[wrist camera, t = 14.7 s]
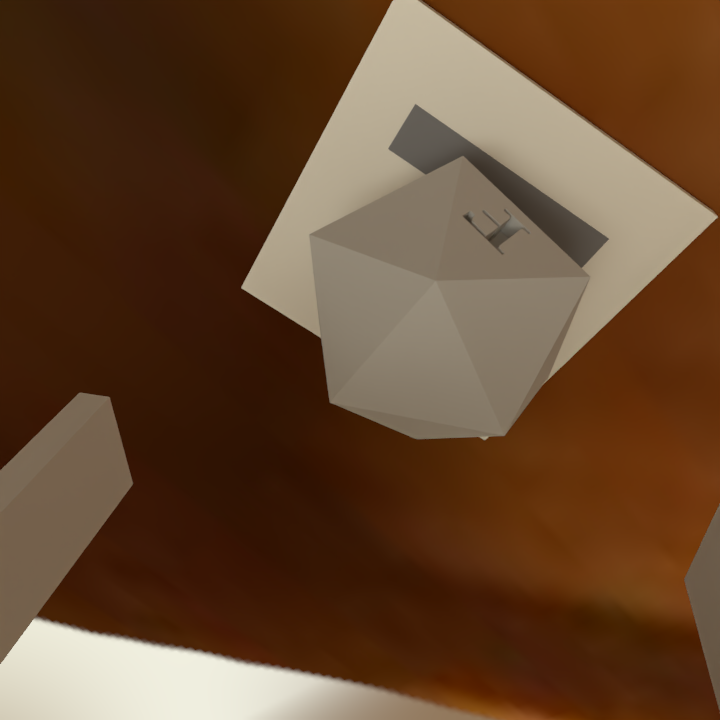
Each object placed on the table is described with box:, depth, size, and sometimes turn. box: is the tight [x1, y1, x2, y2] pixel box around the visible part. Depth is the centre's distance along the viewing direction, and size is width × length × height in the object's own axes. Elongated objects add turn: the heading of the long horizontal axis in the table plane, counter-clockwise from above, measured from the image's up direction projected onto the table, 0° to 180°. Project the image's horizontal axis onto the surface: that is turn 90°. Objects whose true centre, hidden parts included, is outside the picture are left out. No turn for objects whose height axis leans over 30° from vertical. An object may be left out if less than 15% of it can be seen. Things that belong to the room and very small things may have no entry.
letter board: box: [241, 0, 718, 440], centre depth 24 cm, size 13×13×1 cm
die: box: [309, 156, 590, 439], centre depth 21 cm, size 8×9×10 cm
